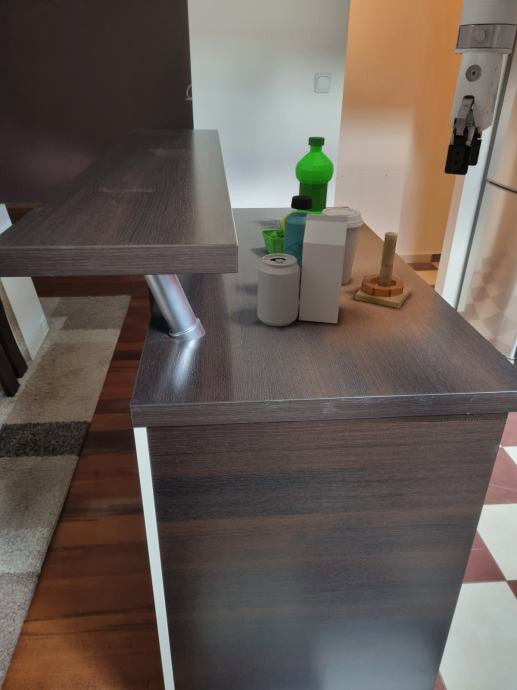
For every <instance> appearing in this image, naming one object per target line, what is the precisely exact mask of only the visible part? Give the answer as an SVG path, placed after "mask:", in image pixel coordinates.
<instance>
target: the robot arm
mask: <svg viewBox="0 0 517 690" xmlns="http://www.w3.org/2000/svg"><path fill="white" fill-rule="evenodd" d="M460 10H461V11H460V16H459V24H458V30H457V37H456V42H455V47H454V49H455V50H454V54H455V55H461V59H460V64H459V67H458V74H457V77H456V78H457V79H456V84H455V89H454V95H453V102H452V107H451V116H450V127H451V128H452V132H451V136H450V139H449V144H448V147H447V153H446V158H445V164H444V173H445V174H446V175H458V176H466V175H467V174H468V171H469V168H470V167H475V166H477V165H478V162H479V157H480V151H481V148H482V141H483V139H482V136H483V132H484V131H486V130H487V129H489V128H490V127H491V126H492V125H493V122H494V117H495V111H496V105H497V98H498V94H499V93H498V92H499V87H500V83H501V76H502V70H503V62H504V55H510V54H512V51H513V47H514V41H515V36H516V32H517V0H462V6H461V9H460Z"/></svg>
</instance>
